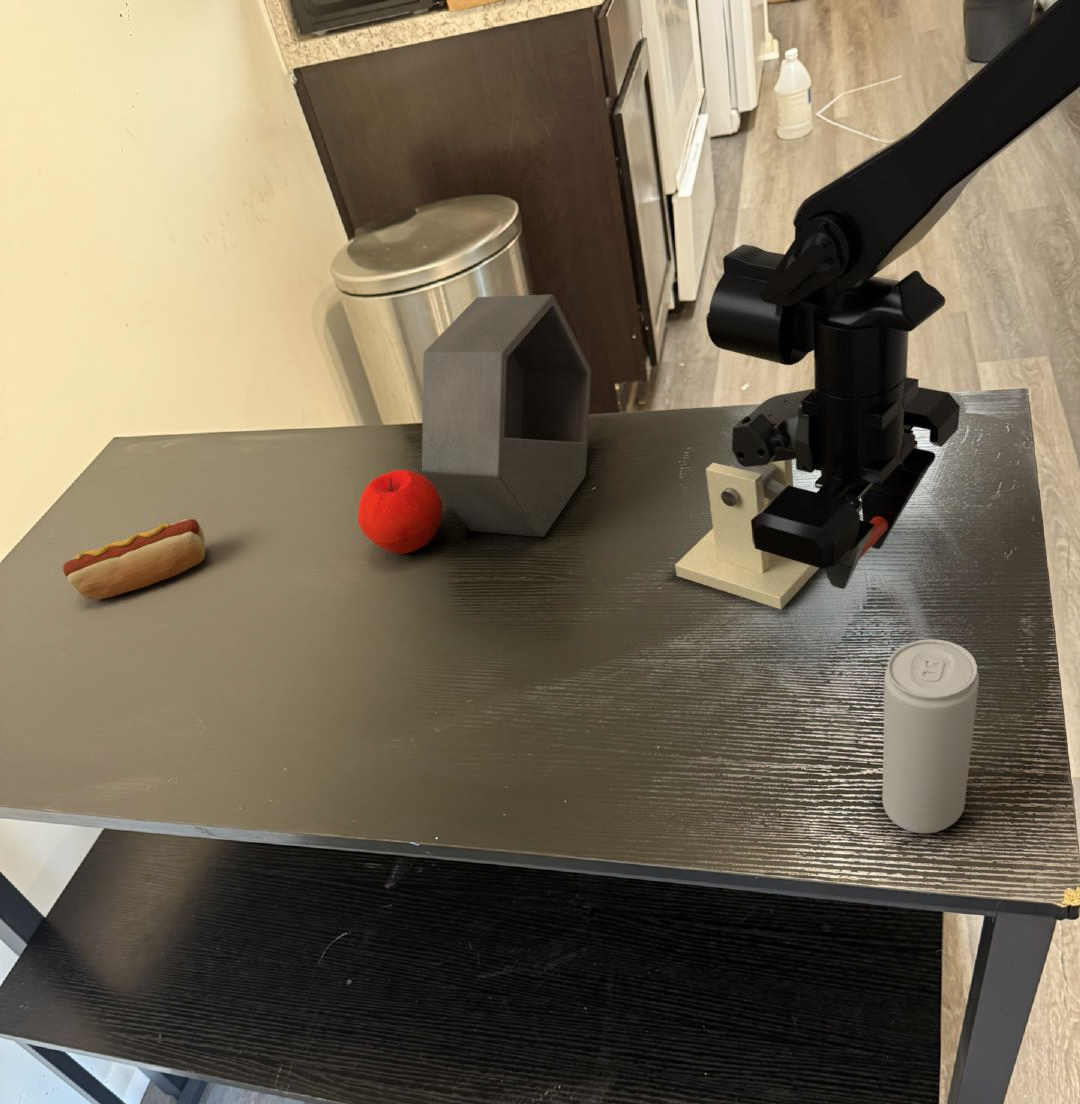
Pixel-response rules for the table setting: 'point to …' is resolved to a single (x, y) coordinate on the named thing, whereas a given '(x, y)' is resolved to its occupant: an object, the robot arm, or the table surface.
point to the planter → (506, 414)
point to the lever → (774, 487)
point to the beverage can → (928, 733)
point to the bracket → (742, 541)
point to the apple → (400, 511)
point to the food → (137, 560)
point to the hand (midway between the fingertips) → (856, 566)
